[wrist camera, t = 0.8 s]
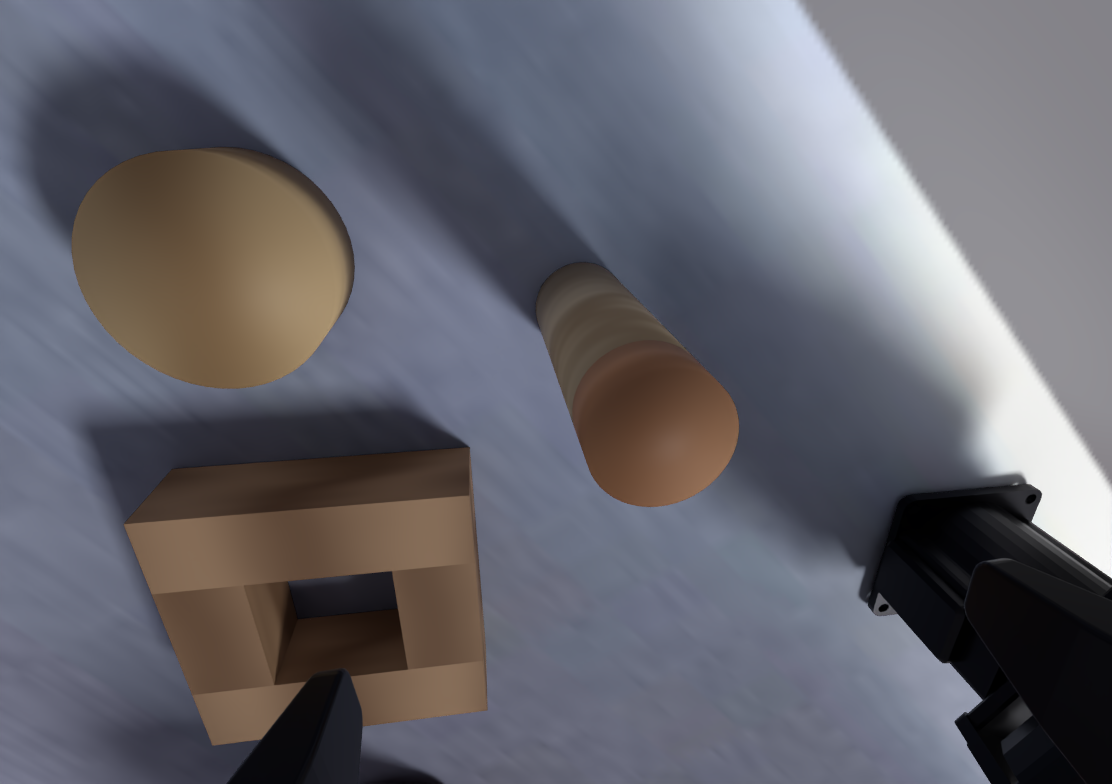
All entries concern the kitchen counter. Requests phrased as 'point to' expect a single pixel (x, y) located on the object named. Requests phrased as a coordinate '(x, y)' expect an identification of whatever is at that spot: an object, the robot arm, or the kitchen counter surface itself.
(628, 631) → the kitchen counter surface
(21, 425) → the kitchen counter surface
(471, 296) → the kitchen counter surface
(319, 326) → the tan rounded disc
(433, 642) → the square wooden frame
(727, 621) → the kitchen counter surface
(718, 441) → the wooden dowel
